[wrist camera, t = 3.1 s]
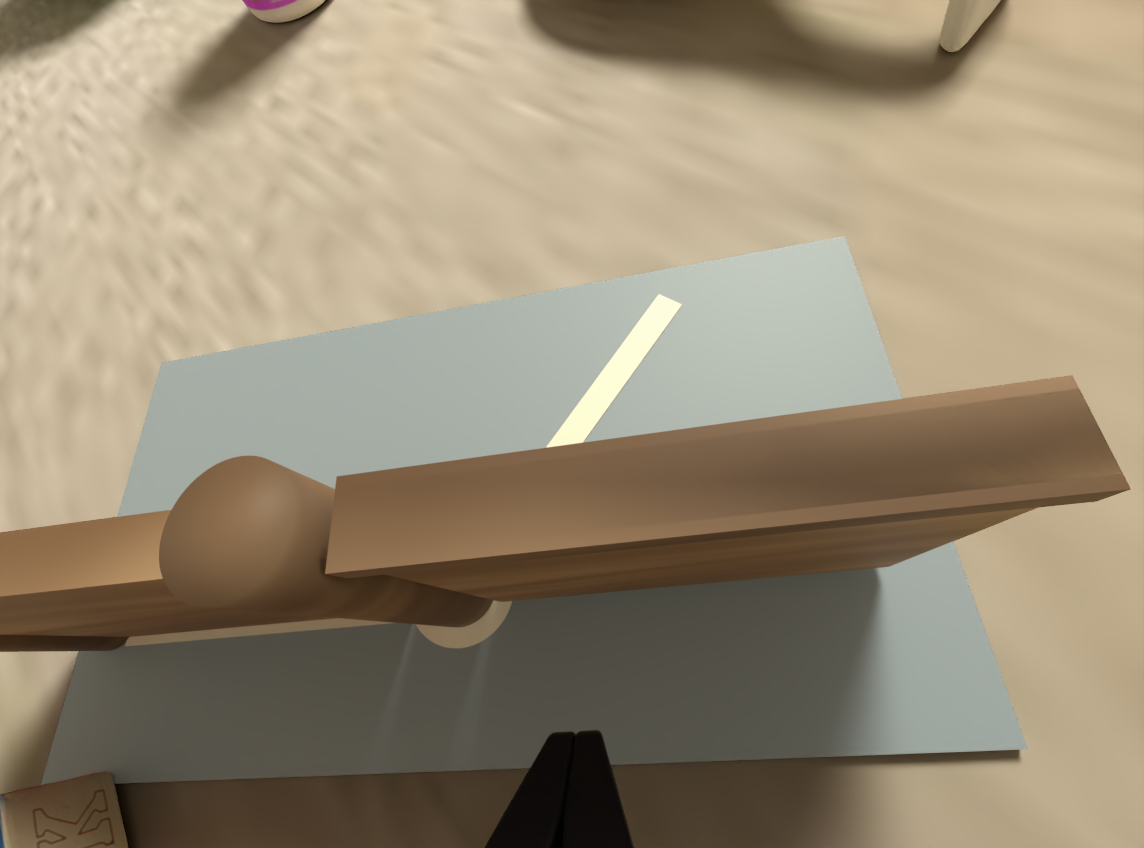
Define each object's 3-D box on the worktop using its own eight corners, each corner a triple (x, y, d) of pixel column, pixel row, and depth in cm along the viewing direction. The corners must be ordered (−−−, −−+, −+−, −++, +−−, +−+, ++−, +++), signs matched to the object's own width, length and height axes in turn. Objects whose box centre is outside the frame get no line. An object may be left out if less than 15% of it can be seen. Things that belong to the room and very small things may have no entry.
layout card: (1020, 746, 13) (1028, 749, 13) (49, 784, 17) (38, 786, 17) (842, 241, 19) (844, 235, 19) (167, 366, 24) (160, 362, 24)
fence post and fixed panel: (496, 624, 16) (281, 599, 8) (83, 659, 19) (-432, 669, 10) (496, 546, 17) (304, 446, 9) (103, 588, 20) (-351, 544, 11)
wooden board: (891, 574, 14) (1130, 488, 6) (500, 608, 16) (325, 573, 8) (873, 515, 15) (1072, 375, 7) (499, 555, 17) (336, 476, 9)
